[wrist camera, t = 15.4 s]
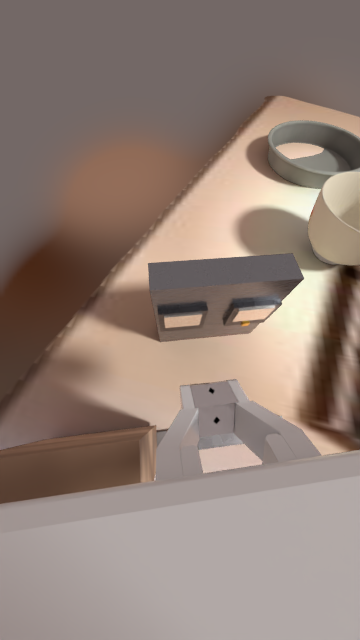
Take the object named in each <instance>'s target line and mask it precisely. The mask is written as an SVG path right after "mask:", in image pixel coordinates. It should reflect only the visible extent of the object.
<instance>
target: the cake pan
mask: <svg viewBox="0 0 360 640" xmlns="http://www.w3.org/2000/svg"><path fill="white" fill-rule="evenodd" d="M268 143H269V146H270V147H269V153H268V162H269V164H270V166H271V168H272V169H273V170H274V171H275V172H276V173H277V174H278V175H280V176H281V177H283V178H284V179H286V180H288V181H290V182H292V183H295V184H297V185H300V186H304V187H308V188H315V189H322V186H323V184H324V183H325V182H326V181H327V180H328V179H329V178H330V177H332V176H334V175H336V174H339V173H344V172H360V138H359V137H357V136H356V135H354V134H353V133H351V132H349V131H347V130H345V129H342V128H340V127H337V126H334V125H330V124H326V123H321V122H315V121H290V122H285V123H282V124H279V125H277V126H275V127H274V128H273V129H272V130H271V131H270V132H269V135H268ZM286 143H307V144H312V145H316V146H320V147H322V148H325V149H324V151H323V152H322V153H320V154H317V155H314V156H309V157H303V158H297V159H289V158H287V157H285V156H284V155H283V154H281V153H280V152H279V151H278V150H277V149H276V148H275V147H277V146H279V145H282V144H286Z"/></svg>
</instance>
